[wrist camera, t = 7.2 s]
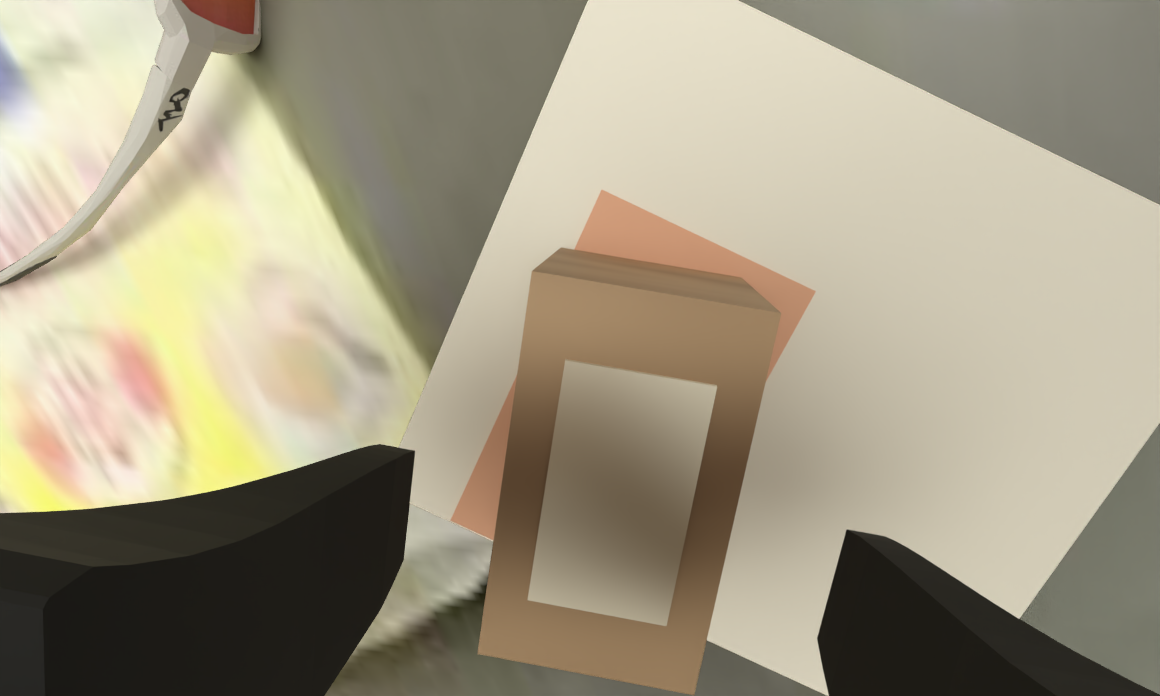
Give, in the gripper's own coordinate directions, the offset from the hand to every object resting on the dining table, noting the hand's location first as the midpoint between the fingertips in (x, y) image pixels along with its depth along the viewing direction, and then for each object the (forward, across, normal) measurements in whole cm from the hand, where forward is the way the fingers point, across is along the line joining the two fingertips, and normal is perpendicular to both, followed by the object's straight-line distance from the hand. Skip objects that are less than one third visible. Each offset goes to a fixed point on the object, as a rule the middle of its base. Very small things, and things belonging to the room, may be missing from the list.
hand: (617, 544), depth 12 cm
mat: (+8, -4, -1) cm, 9 cm away
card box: (+7, 0, 0) cm, 7 cm away
